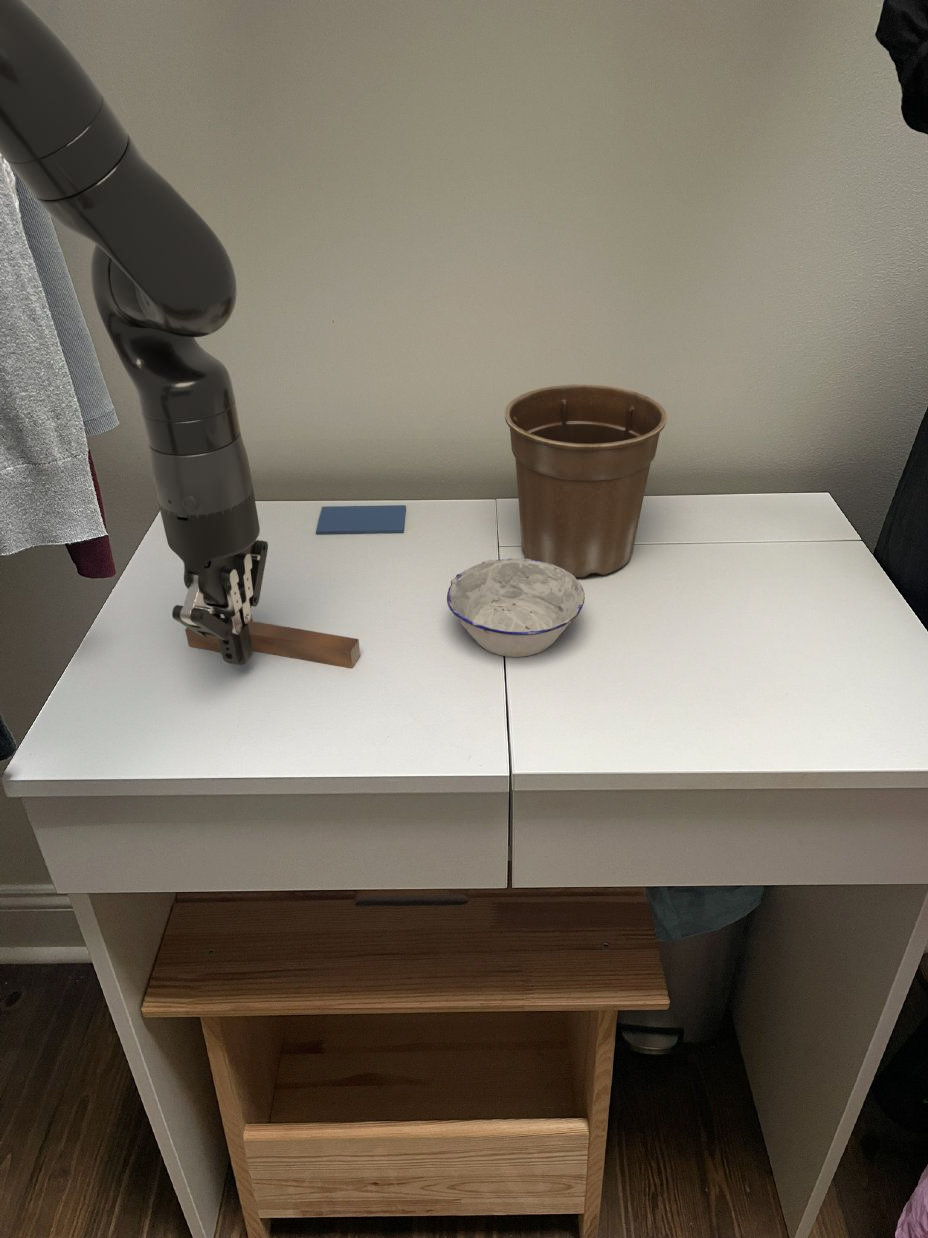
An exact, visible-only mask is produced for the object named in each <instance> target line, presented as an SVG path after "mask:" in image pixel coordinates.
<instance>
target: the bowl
mask: <svg viewBox="0 0 928 1238" xmlns="http://www.w3.org/2000/svg"><path fill="white" fill-rule="evenodd" d="M585 596H586V595H585V590H584V588H583V586H582V584H581V583H580V581H579V580H578V579H577V577H575V576H573V575H572V574H571V573H569V572H567V571H565V570H564V569H562V568H560V567H558V566H555V565H553V564H550V563H546V562H542V561H537V560H533V559H527V558H505V559H503V558H501V559H488V560H485V561H482V562H481V563H478V564H475V565H473V566H471V567H469V568H466V569H465V570H464V571H462V572H461V573H458V574H456V575H455V577H454V578H453V579H451V580H450V585H449V587H448V590H447V593H446V603H447V606H448V608H449V611H451V612H452V614H453V615H454V616H455V617H456V618H457V620H458V621H459V622H460V623H461V626H462V627H464V629H465V630H466V631H467V632H468V634H469V635H470V636H471V637H472V638H473V639H474V640H475V641H476V643H477V644H478V645H479V646H480V647H481V648H483V649H484V650H486V651H487V652H490V653H491V654H494V655H498V656H501V657H502V656H503V657H508V658H523V657H529V656H533V655H536V654H539V653H541V652H543V651H545V650H547V649H548V648H549V647H551V646H552V645H553V644H554V643H555V641H557V639H558V638H559V637H560V635H562V633H563V632H564V631H565V630H566V628H567V627H568V626H569V625H570V624H571V623H572V622H573V621H574V619H576V618H577V617H578V615H579V614H580V613H581V611H582V609H583V608H584V604H585V599H586V597H585Z"/></svg>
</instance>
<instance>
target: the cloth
mask: <svg viewBox="0 0 928 1238" xmlns="http://www.w3.org/2000/svg"><path fill="white" fill-rule="evenodd" d="M406 512H407V505H406V504H399V505H398V504H395V505H394V504H391V505H386V504H385V505H334V506H333V505H331V506H327V505H326V506H321V508H320V513H319V517H318V520H317V521H318V522H317V524H316V525H317V526H316V529H315V534H316V535H339V534H340V535H345V534H347V535H348V534H349V535H351V534H353V535H355V534H356V535H357V534H403V533H404V531H405V521H406Z"/></svg>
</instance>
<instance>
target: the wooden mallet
mask: <svg viewBox="0 0 928 1238" xmlns="http://www.w3.org/2000/svg"><path fill="white" fill-rule="evenodd" d="M248 627H249V632H250V633H249V634H250V637H251V646H252V651H253V652H258V653H263V654H269V655H276V656H281V657H287V658H292V659H297V660H304V661H309V662H315V663H320V664H326V665H332V666H337V667H342V668H343V667H344V668H348V669H353V668H354V666H355V665H356V663H357V662H358V660H359V659H360V657H361V651H360V650H361V649H360V639H359V638H357V637H356V638H354V637H349V636H343V635H337V634H331V633H326V632H320V631H313V630H307V629H303V628H302V629H301V628H295V627H289V626H283V625H278V624H272V623H265V622H261V621H255V620H253V614H251V619H250V622H249V623H248ZM184 632H185V636H186V640H187V644H188V647H190V648H197V649H202V650H207V651H212V652H219V653H222V652H221V648H220V643H219V639H218V638H213V637H204V636H200V635H199V634H197V633H196V632H194V631H192V630H191V629H189V628H188V627H186V628H185V629H184Z"/></svg>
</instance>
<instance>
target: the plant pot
mask: <svg viewBox="0 0 928 1238" xmlns="http://www.w3.org/2000/svg"><path fill="white" fill-rule="evenodd" d="M504 419H505V424H506V425H507V426H508V427H509V433H510V446H511V452H512V454H513V457H514V458H515V459H514V460H515V469H516V471H515V472H516V481H517V483H516V484H517V496H518V497H517V498H518V510H519V511H518V512H519V513H518V514H519V526H520V539H521V541H520V543H521V550H522V551H523V553H524V555H525V559H533V560H537V561H542V562H546V563H550V564H553V565H555V566H558V567H560V568H562V569H564V570H565V571H567V572H569V573H571V574H572V575H573V576H575V578H586V577H588V576H589V575H591V574H599V575H601V576H604V575H608V574H612V573H614V572H616V571H619V570H620V569H621V568H623V567H624V566H626V565H627V563H628V562H629V561H630V560H631V559H632V556H633V554H634V553H633V552H634V548H635V547H634V546H635V542H636V538H637V537H636V536H637V532H638V527H639V522H640V516H641V513H642V512H641V511H642V507H643V502H644V497H645V492H646V489H647V483H648V478H649V474H650V469H651V465H652V462H653V461H654V459H655V457H656V453H657V448H658V444H659V439H660V434H661V432H663V430H664V429H665V427H666V424H667V420H668V413H667V411H666V409H665V408H664V407H663V406H662V405H661V404H660V403H659V402H658V401H656V400H655V399H653V398H651V397H649V396H647V395H645V394H643V393H639V392H637V391H634V390H630V389H625V388H621V387H617V386H616V387H615V386H608V385H599V384H573V383H571V384H560V385H553V386H552V385H551V386H547V387H542V388H538V389H534V390H531V391H528V392H525V393H522V394H520V395H519V396H516V397H515V398H514V399H512V400H511V401H509V403H508V404H507V405H506V407H505V409H504Z"/></svg>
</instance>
